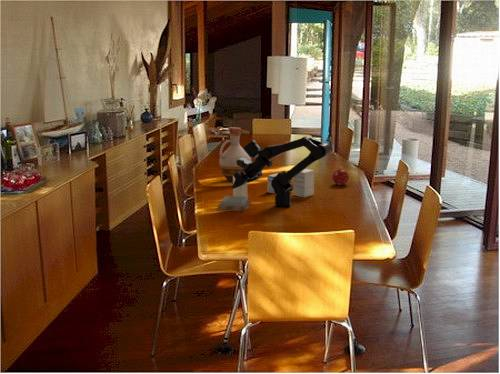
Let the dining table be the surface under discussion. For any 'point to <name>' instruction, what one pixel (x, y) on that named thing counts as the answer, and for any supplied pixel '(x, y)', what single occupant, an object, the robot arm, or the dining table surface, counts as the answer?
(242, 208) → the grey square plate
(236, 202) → the slate top slab
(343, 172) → the christmas ornament
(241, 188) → the ivory pillar block
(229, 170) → the jug
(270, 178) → the medicine box
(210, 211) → the dining table surface
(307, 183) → the supplement box
